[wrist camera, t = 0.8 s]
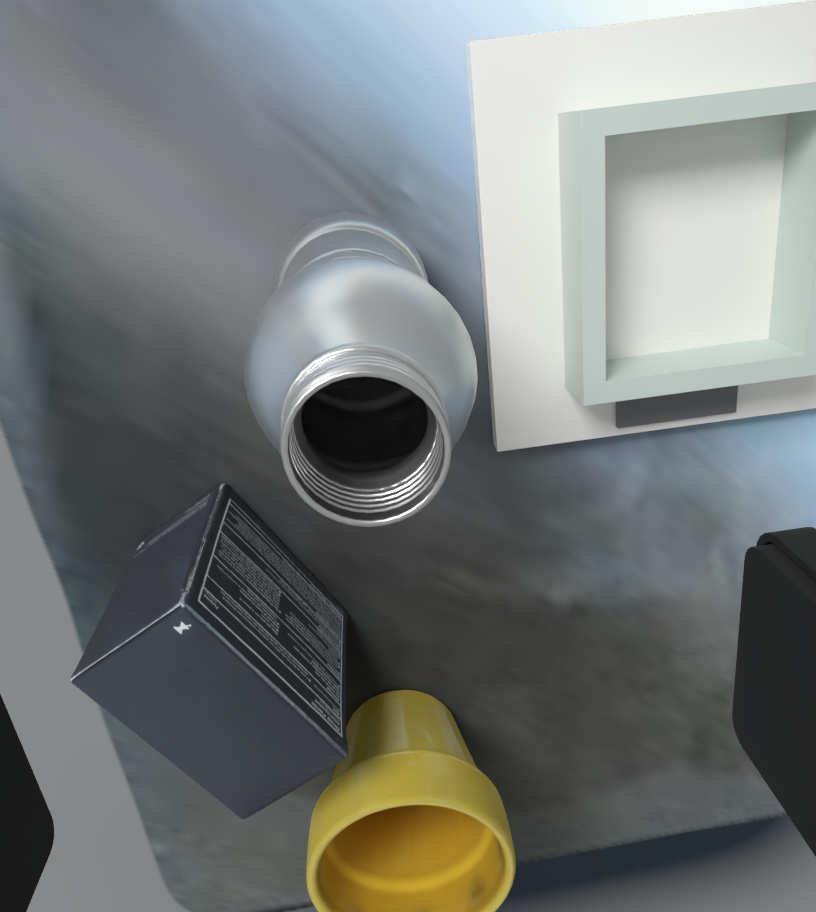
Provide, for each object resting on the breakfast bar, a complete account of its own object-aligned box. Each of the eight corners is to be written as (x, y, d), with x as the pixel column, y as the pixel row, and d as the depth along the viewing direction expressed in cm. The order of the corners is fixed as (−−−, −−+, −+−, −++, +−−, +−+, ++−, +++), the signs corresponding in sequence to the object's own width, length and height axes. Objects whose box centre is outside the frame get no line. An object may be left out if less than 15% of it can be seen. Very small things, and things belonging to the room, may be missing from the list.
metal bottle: (346, 172, 32) (355, 218, 14) (452, 283, 34) (583, 449, 16) (248, 280, 33) (136, 452, 15) (356, 379, 36) (374, 634, 17)
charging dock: (465, 44, 30) (482, 30, 27) (888, -6, 31) (962, -26, 27) (493, 444, 38) (510, 477, 34) (835, 397, 38) (888, 424, 35)
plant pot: (278, 751, 44) (263, 906, 35) (380, 633, 42) (391, 769, 33) (414, 817, 48) (431, 974, 39) (517, 711, 45) (561, 855, 36)
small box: (127, 547, 38) (56, 684, 29) (223, 476, 37) (182, 594, 28) (261, 672, 42) (238, 830, 32) (351, 612, 41) (355, 757, 31)
